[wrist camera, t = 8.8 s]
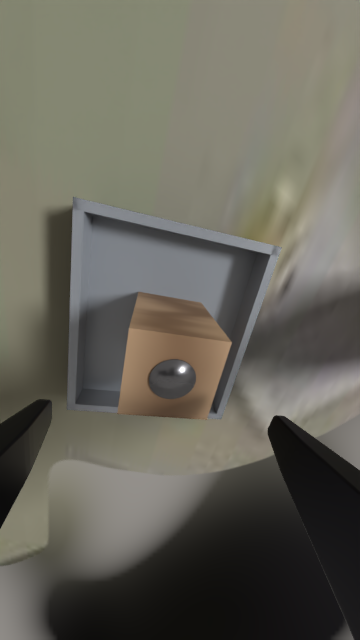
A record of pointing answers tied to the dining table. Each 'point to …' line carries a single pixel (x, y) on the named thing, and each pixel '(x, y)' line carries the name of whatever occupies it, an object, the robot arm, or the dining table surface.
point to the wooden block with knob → (171, 359)
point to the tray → (153, 292)
